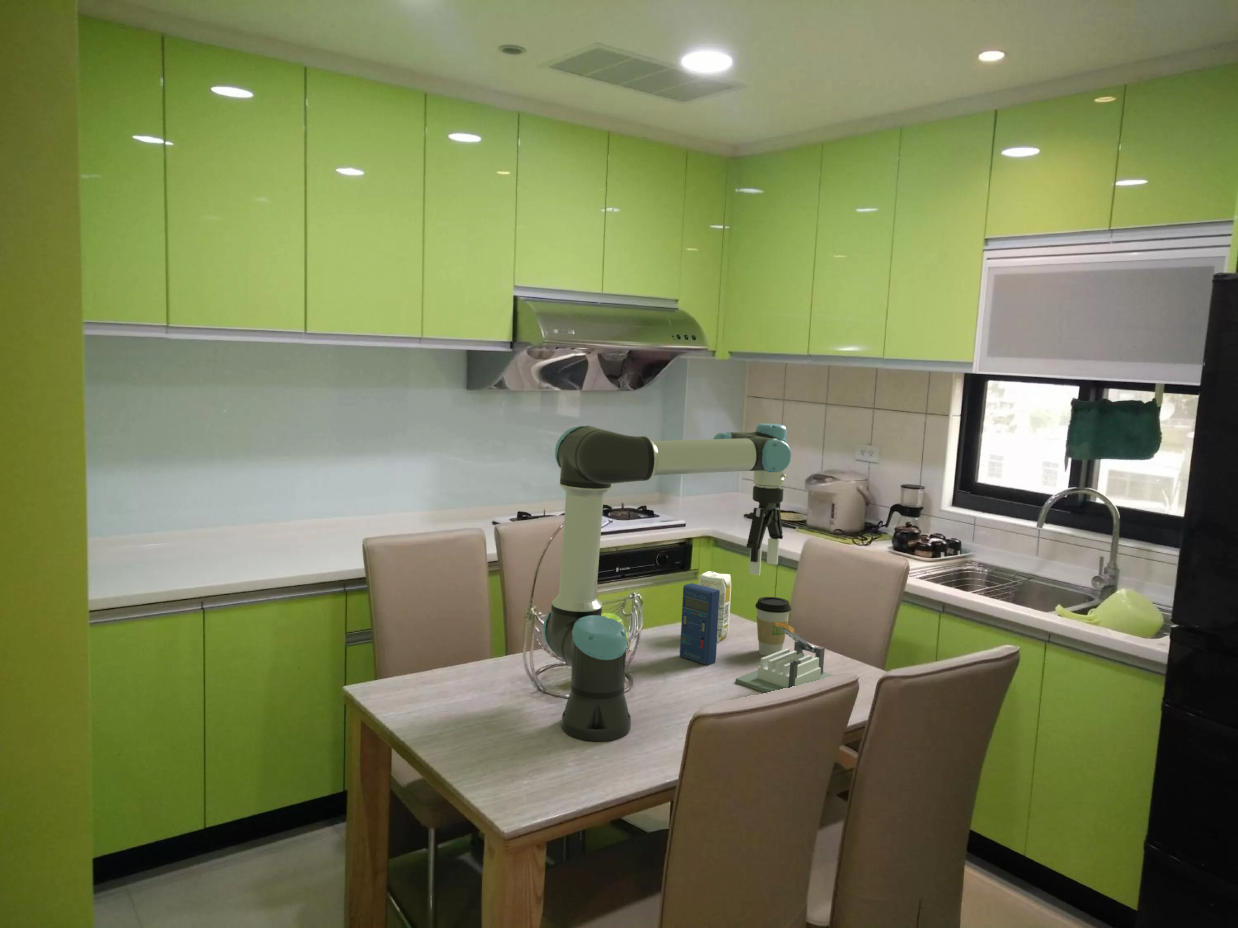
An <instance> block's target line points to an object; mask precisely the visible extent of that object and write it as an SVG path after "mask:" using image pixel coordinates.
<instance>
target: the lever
mask: <svg viewBox="0 0 1238 928" xmlns="http://www.w3.org/2000/svg"><path fill="white" fill-rule="evenodd" d="M775 626H776V627H778V628H779V629H781V630H782V631H783V632H784V633H786V635H787V637H790V639H792V640H793V641H794V642H795V641H796V642H797V643H798V644H800V645H801V649H802V650H803V651H806V652H809V653H812V654H816V648H817V647H818V646H813V645H810V644H809V643H808V642H807V641H806V640H804V639H803V638H802V637H801V636H799V635H798V634H797V633H796V632H795V631H796V629H795V628H794V627H792V626H791V625H790V624H783V623H780V622H776V623H775Z"/></svg>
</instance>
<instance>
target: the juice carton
mask: <svg viewBox="0 0 1238 928" xmlns="http://www.w3.org/2000/svg"><path fill="white" fill-rule="evenodd" d="M731 578H732V577H731V574H729V573H718V572H715V571H711V570H709V571H706V572H704V573H702V574H699V579H698V583H697V585H701V586H705V587H709V588H713V589H717V590H719V591H720V596H719V607H718V625H717V643H720V642H721V641H723V640H725V639H726V638H727V637H728V633H729V630H730V615H731V614H730V612H731V597H732V595H731V593H732V579H731Z"/></svg>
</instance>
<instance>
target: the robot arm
mask: <svg viewBox="0 0 1238 928" xmlns="http://www.w3.org/2000/svg"><path fill="white" fill-rule="evenodd" d="M787 435H788V432H787V427H786V426H785V425H783V424H779V423H758V424H757V425H756V429H755V431H752V432H740V431H739V432H736V431H735V432H730V431H726V432H719V433H716V434H715V435H714V437H713V439H712V438H710V439H677V440H673V439H672V440H671V439H670V440H651V438H649V437H648V436H645V435H644V436H639V435H638V436H634V435H629V434H628V435H626V434H623V433H619V432H615V431H614V432H613V431H611V430H605V429H601V428H598V427H595V426H591V425H577V426H572V427H571V428H569V429H567V430H565V431H564V433H562V435H560V437H559V438H558V439H557V441H556V444H555V448H554V457H555V462H556V463H557V465H558V467H559V469H560V475H559V477H560V478H559V486H560V487H561V488H562V489H563V490H564V492H565V505H564V516H563V517H564V519H563V530H562V531H563V533H562V546H561V558H560V559H561V562H560V575H559V588H558V589H559V591H558V595H557V596H556V597H554V598H553V599H552V601H551V606H550V607H551V610H550V611H549V613H547V614H546V616H545V618H544V621H543V626H542V633H543V637H544V640H545V642H546V644H547V646H548V647H549V649H550V650H551V651H552V653H554V654H555V655H556V656H557V657H559V658H561V660H563V661H564V662H565V663H567V665H569V666H570V668H571V673H570V674H571V676H570V679H571V680H570V692H569V696H568V699H567V701H566V704H565V708H564V710H563V712H562V715H561V729H562V731H564V733H566V735H569V736H570V737H573V738H576V739H579V740H584V741H589V742H608V741H614V740H618V739H620V738H623V737H624V736H626V735H628V734H629V733H630V731H631V725H632V724H631V723H632V719H631V715H630V712H629V710H628V703H627V700H626V695H625V679H626V658H627V656H626V649H627V640H626V630H625V628H624V626H623V625H622V624H621V623H620V622H621V621H620V622H618V621H619V620H616V619H615V618H612V617H610V618H609V617H607V616H605V615H602V613H603V612H602V611H603V610H602V609H603V604H602V601H600V600H599V599H598V598H597V597H598V596H597V589H598V576H599V563H600V561H599V560H600V550H601V549H600V547H601V536H602V534H601V533H602V525H603V524H602V523H603V521H602V520H603V508H604V496H605V494H606V493H607V492H608V491H609V490H611V487H612V485H613V484H621V483H622V484H623V483H634V482H642V481H643V482H644V481H645V482H646V481H650V480H651V479H652V477H653V476H669V475H670V476H671V475H673V476H674V475H689V474H691V475H692V474H694V475H695V474H708V473H728V472H731V473H732V472H746V471H747V472H753V478H752V479H753V481H752V483H753V484H754V486H753V487H752V500H753V501H754V502H755V503H756V502H758V507H753V510H752V511H753V513H752V519H751V523H750V529H749V533H748V538H747V543H746V549H749V563H748V565H749V566H748V575H755V576H760V575H761V569H762V567H761V566H762V551H763V549H762V548H761V547H762V543H763V540H764V536H765V533H766V530H767V531H768V535H769V538H768V539H767V551H766V553H767V554H766V564H771V565H776V566H777V565H778V564H779V549H780V548H779V547H780V540H783V538H784V535H783V526H782V525H783V524H782V515H781V503H782V502H783V500H784V489H785V488H783V487H782V486H784V484H785V478H787V474H785V470H786V469H787V468H788V467H789V465H790V463H791V459H792V451H791V448H790V446H789V445H788V442H787V440H788V436H787Z"/></svg>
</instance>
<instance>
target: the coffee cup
mask: <svg viewBox="0 0 1238 928" xmlns="http://www.w3.org/2000/svg"><path fill="white" fill-rule="evenodd" d="M755 608H756V625H757V626H756V628H757V640H758V653H759V654H760V655H761V656H763V657H766V656H768V655H771V654H774V653H776V652H779V651H782V650H783V649H784V643H785V641H786V640H785V639H786V635H787V634H786V633H784V632H783V631H782V630H781V629H779V628H778V627H776V626H775V623H776V622H780V623H783V624H787V625H789V615H790V612H791V611H792V607H791V604H790V601H789V600H787V599H785V598H782V597H776V596H763V597H759V598H758V599H757V602H756V603H755Z"/></svg>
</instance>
